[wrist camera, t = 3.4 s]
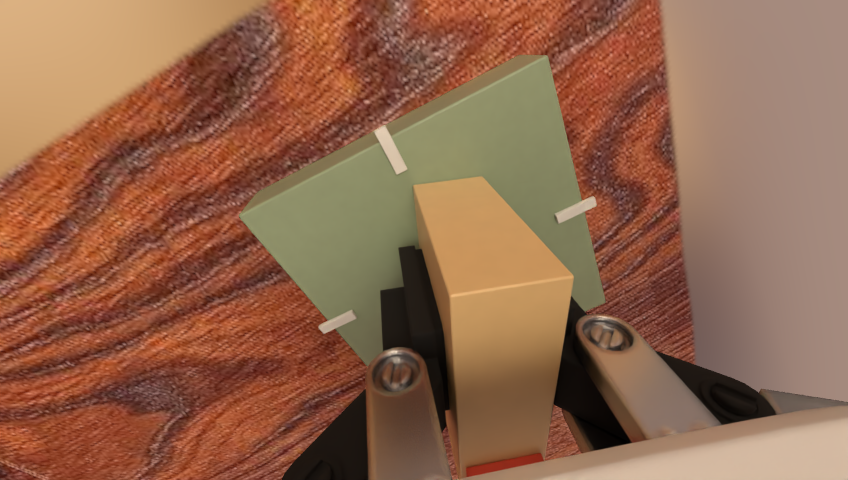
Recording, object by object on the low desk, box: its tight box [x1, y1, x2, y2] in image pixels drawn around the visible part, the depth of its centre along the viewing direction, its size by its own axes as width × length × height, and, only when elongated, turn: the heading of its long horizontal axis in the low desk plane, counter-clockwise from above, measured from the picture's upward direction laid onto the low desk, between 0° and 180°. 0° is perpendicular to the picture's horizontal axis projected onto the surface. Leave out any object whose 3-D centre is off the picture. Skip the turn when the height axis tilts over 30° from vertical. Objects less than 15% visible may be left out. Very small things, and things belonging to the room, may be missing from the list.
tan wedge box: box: [413, 176, 574, 479], centre depth 10 cm, size 6×2×6 cm, turn 5°
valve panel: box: [239, 55, 606, 367], centre depth 13 cm, size 11×11×2 cm
